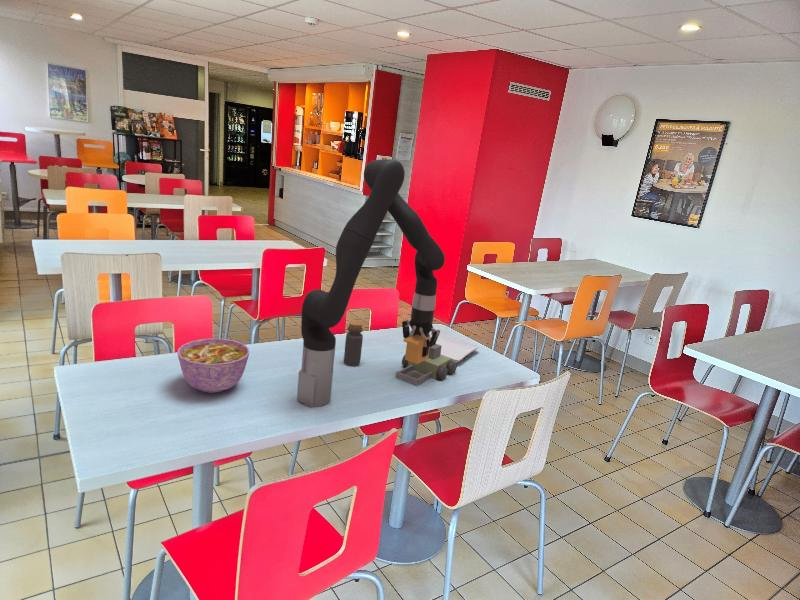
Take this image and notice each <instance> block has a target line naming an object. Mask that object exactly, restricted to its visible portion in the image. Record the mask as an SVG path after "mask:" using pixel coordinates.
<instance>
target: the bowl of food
mask: <svg viewBox="0 0 800 600" xmlns="http://www.w3.org/2000/svg"><path fill="white" fill-rule="evenodd" d="M250 353H251V351H250V348H249V347H248V346H247V345H246V344H244V343H242V342H239V341H237V340H233V339H226V338H203V339H197V340H192V341H189V342H186V343H185V344H182V345H181V346H179V348H178V349H177V358H178V361H179V365H180V369H181V372H182V376H183V378H184V380H185V381H186V382H187V384H188V385H189V386H190V387H192V388H194V389H196V390H198V391H201V390H202V391H201V392H204V391H205V392H204V393H209V392H211V393H213V392H216V393H220V392H221V393H222V392H224V391H225V390H228V389H231V388H233V387H234V386H236V385H237V384H238V383H239V382H240V380H241V379H242V377H243V375H244V372H245V369H246V366H247V363H248V360H249V356H250ZM223 390H224V391H223ZM211 393H210V394H211Z"/></svg>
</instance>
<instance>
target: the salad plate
mask: <svg viewBox="0 0 800 600" xmlns="http://www.w3.org/2000/svg"><path fill="white" fill-rule="evenodd" d="M431 333H432V332H429V334H430V337H432V335H431ZM436 344H438V345H441V346H442V347H441V355H443V356H446V357H449V358H452V362H455V363H457V364H458V363H459V362H461V361H462V360H463V359H464V358H466V356H468V355H471V354H472V353H473V352H475V351H476V350H477V349H478V348H479V347H480V346H479V345H478V344H474V343H471V342H469V341H466V340H462V339H459V338H456V337H452V336H450V335H446V334H442V333H440V334H439V336H438V339H437V341H436Z"/></svg>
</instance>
